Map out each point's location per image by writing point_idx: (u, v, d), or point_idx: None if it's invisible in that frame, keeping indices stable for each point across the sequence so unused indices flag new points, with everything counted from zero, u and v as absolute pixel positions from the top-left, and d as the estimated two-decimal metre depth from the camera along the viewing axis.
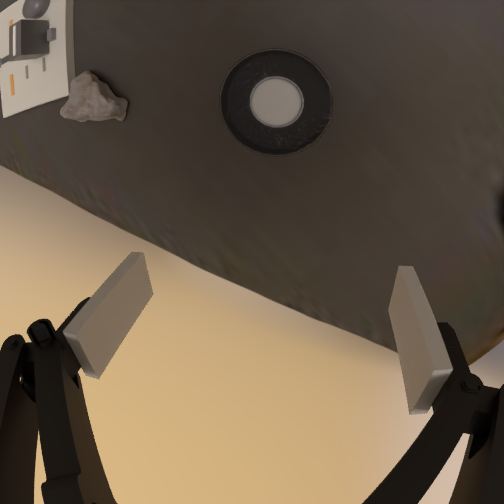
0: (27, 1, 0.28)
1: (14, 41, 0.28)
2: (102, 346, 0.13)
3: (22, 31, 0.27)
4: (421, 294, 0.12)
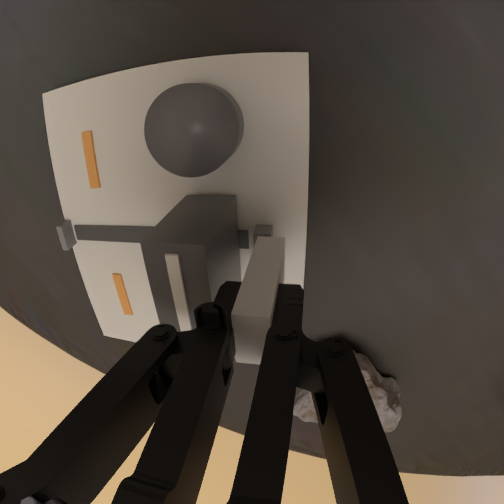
0: (164, 110, 0.15)
1: (183, 307, 0.15)
2: None
3: (211, 284, 0.14)
4: (277, 258, 0.15)
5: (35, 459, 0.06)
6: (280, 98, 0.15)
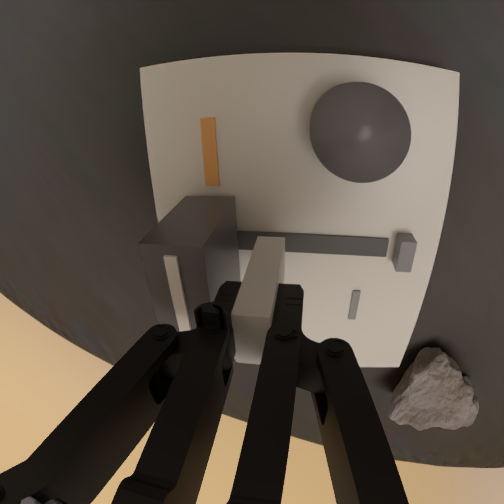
0: (337, 106, 0.13)
1: (182, 308, 0.15)
2: None
3: (210, 285, 0.14)
4: (277, 258, 0.15)
5: (35, 459, 0.06)
6: (435, 112, 0.14)
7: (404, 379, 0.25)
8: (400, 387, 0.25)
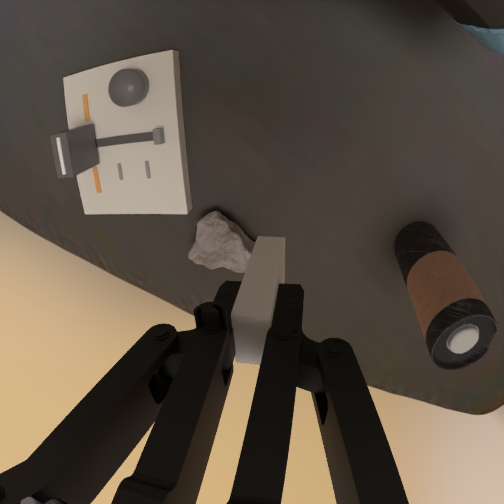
0: (115, 80, 0.33)
1: (61, 158, 0.34)
2: None
3: (69, 147, 0.34)
4: (277, 258, 0.15)
5: (35, 459, 0.06)
6: (162, 71, 0.34)
7: None
8: None
